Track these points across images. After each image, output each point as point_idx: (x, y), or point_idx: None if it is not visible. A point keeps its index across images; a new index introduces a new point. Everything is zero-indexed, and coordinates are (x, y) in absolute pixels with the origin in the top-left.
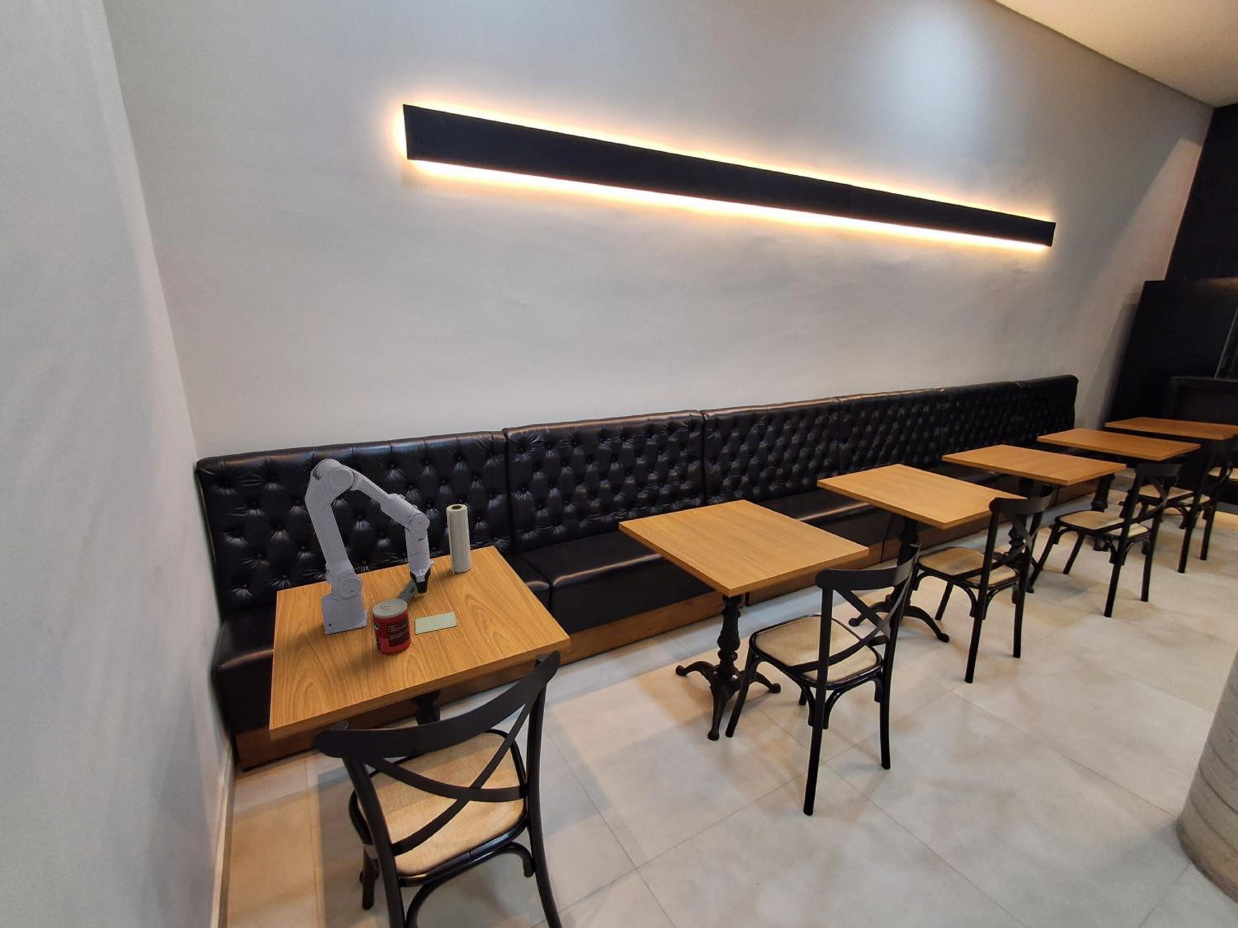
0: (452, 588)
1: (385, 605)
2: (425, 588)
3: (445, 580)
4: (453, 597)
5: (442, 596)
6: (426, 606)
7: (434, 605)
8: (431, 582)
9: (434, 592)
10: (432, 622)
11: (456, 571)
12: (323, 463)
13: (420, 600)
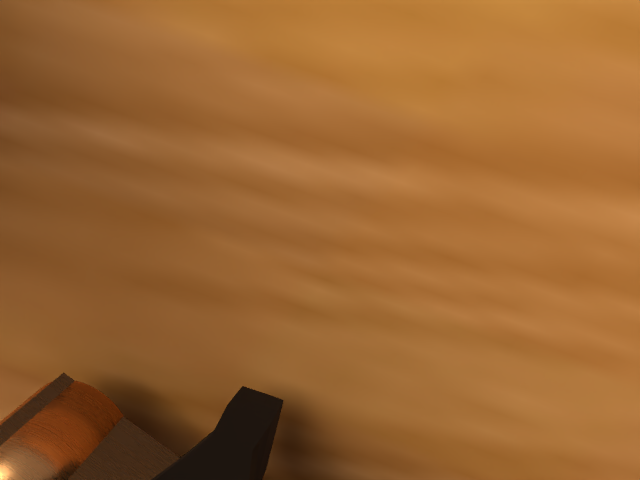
0: (299, 16)
1: None
2: (260, 447)
3: (19, 35)
4: (597, 99)
5: (443, 229)
6: (552, 467)
7: (607, 395)
8: (10, 215)
9: (270, 274)
10: None
11: None
12: None
13: (363, 457)
